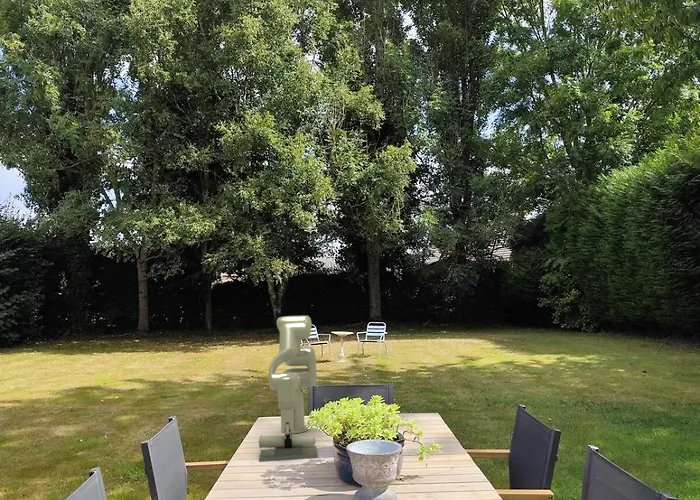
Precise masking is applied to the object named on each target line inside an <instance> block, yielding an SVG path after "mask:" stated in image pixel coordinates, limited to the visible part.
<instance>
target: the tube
mask: <svg viewBox="0 0 700 500" xmlns="http://www.w3.org/2000/svg"><path fill="white" fill-rule="evenodd" d="M291 438H292V448H293V447H302V448H312V447H314V446H316V443H317V441H316V437H314V436H312V435H292V436H291ZM284 439H285V435H259V437H258V447H259V449H262V448H268V449H275V448H285V444H284Z"/></svg>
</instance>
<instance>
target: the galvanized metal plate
mask: <svg viewBox="0 0 700 500" xmlns="http://www.w3.org/2000/svg"><path fill="white" fill-rule="evenodd" d="M318 457H319V455H318V447H317V445H315V446H314V447H312V448H302V447H293V448H279V449H275V448H268V449H267V448H266V449H260V453H259V457H258V459H259V460H258V461H259V462H273V461H285V460H287V461H289V460H298V459H299V460H301V459H313V458H318Z"/></svg>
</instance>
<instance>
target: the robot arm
mask: <svg viewBox="0 0 700 500" xmlns="http://www.w3.org/2000/svg"><path fill="white" fill-rule="evenodd" d="M276 327H277V330H278V331H279V350H278V351H279V352H278V354H276V355H275V357H274V358H273V360H272V361H271V362H270V365H269V369H268V387H269V389H271V390H272V391H277V401H278V403H277V406H278V409H279V410H280V427H281V429H280V430H281V433H284V436H285V439H284V444H285V448H292V438H291V436H293V435H292V434H301V433H305V432H308V430H307V429H306V425H305V424H306V422H305V401H304V400H305V399H304V394H303V392H302V390H300V388H306V387H314V386H316V385H317V377H318V376H317V360H316V359H317V357H316V351H315V348H313V347H311V346H301V340H308V339H309V338H310V337H311V331H312V319H311V317H310V316H309V315H287V316H280V317H278V318H277V320H276ZM283 363H284V364H285V365H286V366H288V367H294V368H287V369H285V370H284V371H283V372H277V373H276V370H277V368H278V367H279V366H280V365H282V364H283ZM303 366H304V367H303ZM305 366H306V367H305ZM301 367H302V368H301Z"/></svg>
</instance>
